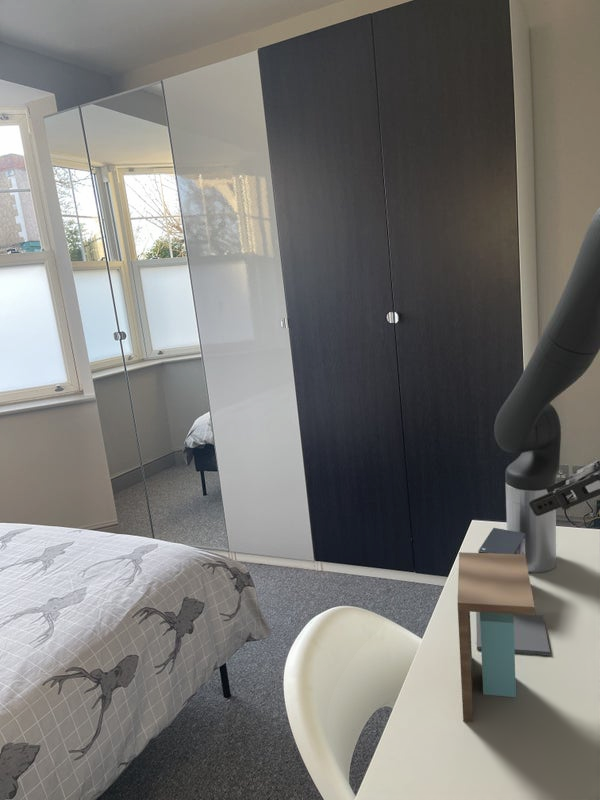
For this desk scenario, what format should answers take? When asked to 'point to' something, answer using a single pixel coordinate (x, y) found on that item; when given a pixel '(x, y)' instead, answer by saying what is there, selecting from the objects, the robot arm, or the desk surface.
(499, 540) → the small box
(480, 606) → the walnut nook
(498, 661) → the teal block
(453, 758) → the desk surface
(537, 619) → the rubber mat
